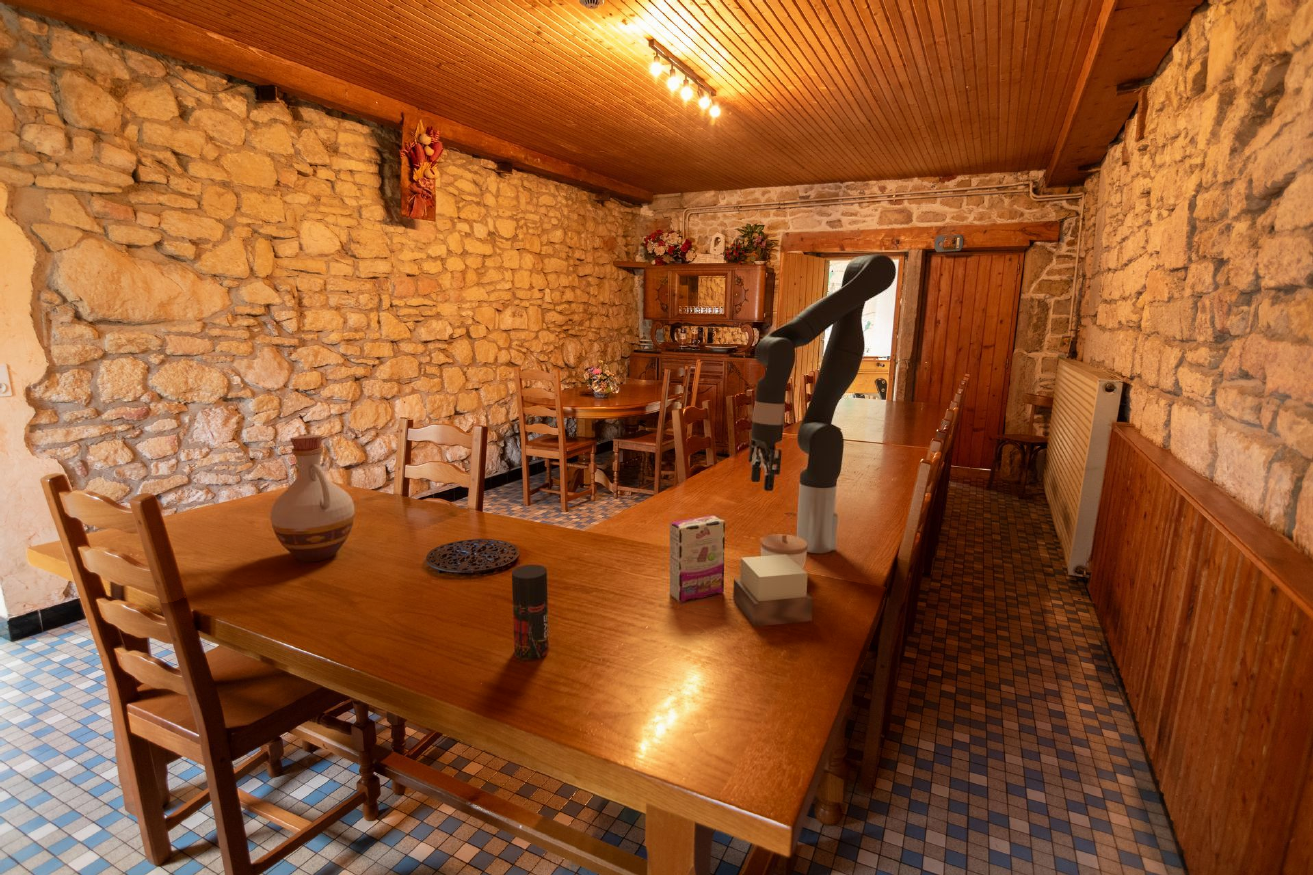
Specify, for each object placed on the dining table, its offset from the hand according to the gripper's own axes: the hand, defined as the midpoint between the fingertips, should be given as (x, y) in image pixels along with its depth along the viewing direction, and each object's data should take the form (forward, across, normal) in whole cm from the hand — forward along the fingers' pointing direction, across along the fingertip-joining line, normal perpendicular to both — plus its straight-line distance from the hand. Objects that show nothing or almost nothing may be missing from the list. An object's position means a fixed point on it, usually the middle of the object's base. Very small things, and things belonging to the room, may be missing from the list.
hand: (761, 485), depth 151 cm
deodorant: (+22, -36, +55) cm, 69 cm away
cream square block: (+14, -28, +8) cm, 33 cm away
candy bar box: (+20, -18, +20) cm, 34 cm away
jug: (+24, +19, +105) cm, 110 cm away
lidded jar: (+18, -12, -2) cm, 22 cm away
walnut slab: (+19, -28, +7) cm, 35 cm away
